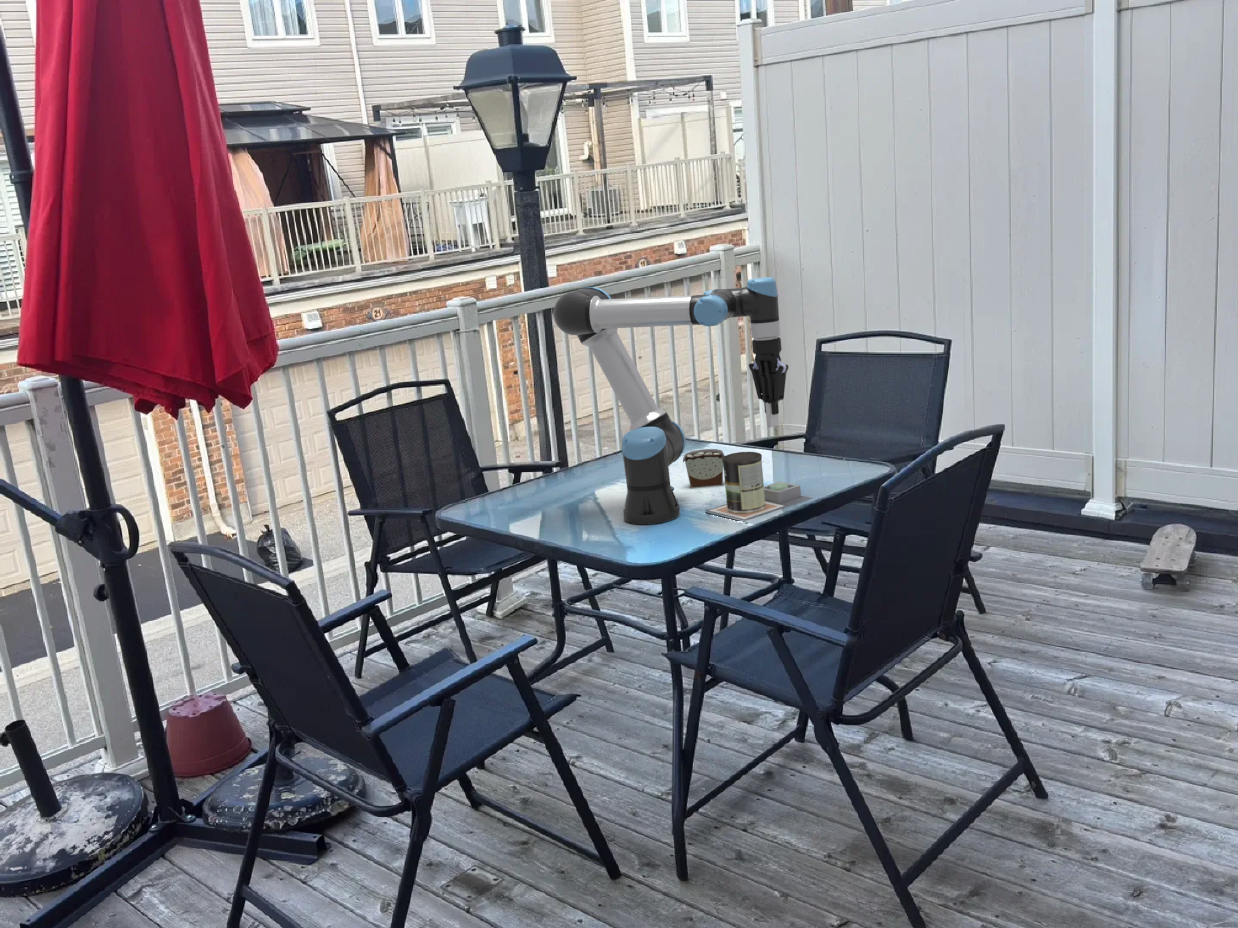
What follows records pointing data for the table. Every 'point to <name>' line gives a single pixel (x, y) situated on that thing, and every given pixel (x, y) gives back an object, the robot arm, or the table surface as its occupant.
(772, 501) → the pad with button box
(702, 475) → the food container
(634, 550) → the table surface
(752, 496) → the coffee can
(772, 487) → the button
